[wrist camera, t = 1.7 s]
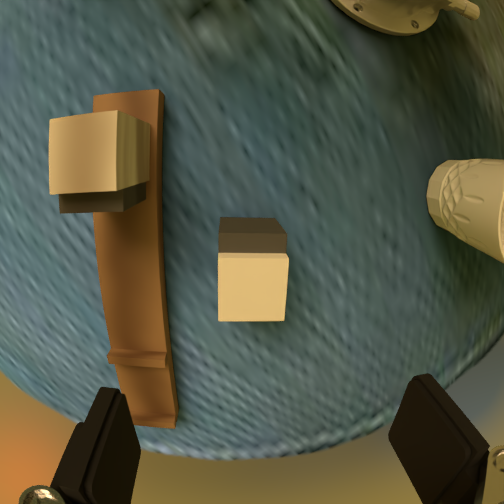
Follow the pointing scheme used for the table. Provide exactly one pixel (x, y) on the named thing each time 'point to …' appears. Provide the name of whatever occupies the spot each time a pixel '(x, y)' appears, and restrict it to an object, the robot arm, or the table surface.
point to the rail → (124, 236)
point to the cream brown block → (252, 269)
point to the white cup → (470, 202)
